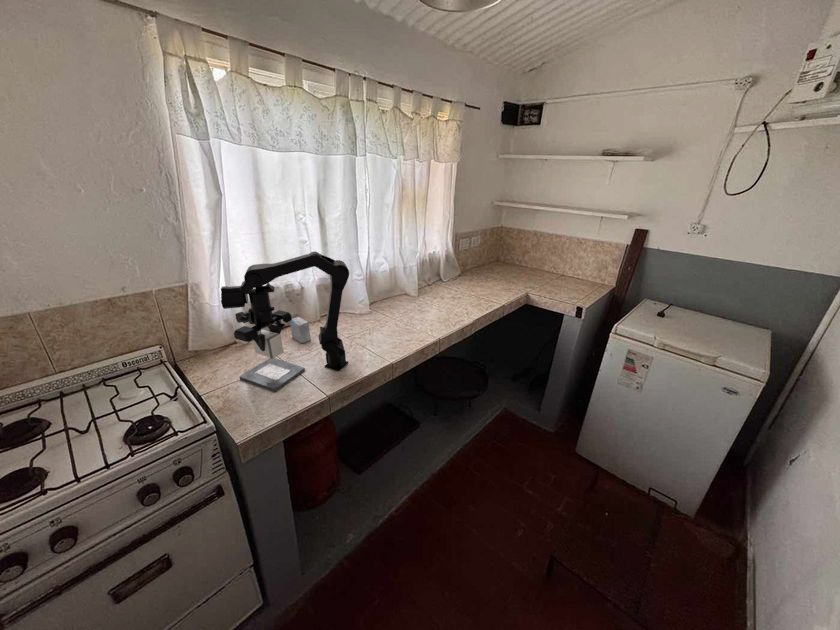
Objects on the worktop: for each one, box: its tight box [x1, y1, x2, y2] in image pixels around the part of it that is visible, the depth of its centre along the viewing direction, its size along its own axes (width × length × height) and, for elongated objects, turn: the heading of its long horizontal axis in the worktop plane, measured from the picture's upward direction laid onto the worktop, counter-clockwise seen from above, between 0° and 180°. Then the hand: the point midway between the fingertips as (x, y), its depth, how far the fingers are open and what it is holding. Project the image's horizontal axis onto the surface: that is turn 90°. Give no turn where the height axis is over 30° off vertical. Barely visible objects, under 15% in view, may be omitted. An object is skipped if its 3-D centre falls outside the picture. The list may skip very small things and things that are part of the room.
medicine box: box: [289, 316, 311, 344], centre depth 138 cm, size 8×4×9 cm, turn 48°
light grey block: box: [252, 329, 284, 359], centre depth 110 cm, size 5×8×7 cm, turn 66°
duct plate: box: [239, 357, 306, 393], centre depth 115 cm, size 16×14×1 cm
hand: (268, 347), depth 110 cm, fingers closed on light grey block, 4 cm apart
